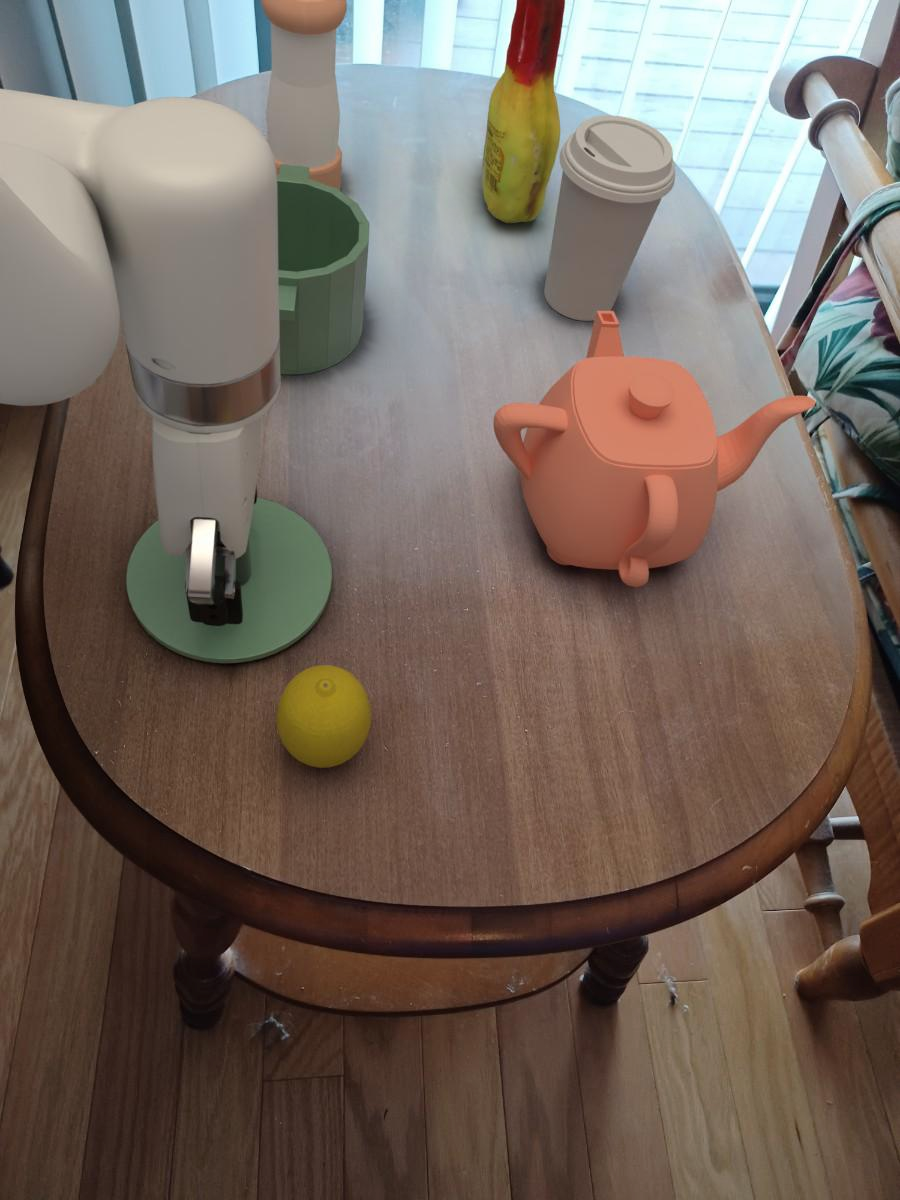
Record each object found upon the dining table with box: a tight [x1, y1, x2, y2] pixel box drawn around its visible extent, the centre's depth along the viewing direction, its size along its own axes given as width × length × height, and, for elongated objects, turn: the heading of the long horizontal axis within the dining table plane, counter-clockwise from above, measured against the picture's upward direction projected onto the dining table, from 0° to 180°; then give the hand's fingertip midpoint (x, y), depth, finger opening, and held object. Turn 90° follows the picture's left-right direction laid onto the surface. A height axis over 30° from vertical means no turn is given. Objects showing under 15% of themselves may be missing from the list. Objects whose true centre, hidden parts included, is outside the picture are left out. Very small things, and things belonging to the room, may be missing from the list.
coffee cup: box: [543, 115, 676, 322], centre depth 81 cm, size 10×10×15 cm
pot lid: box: [125, 497, 333, 664], centre depth 63 cm, size 14×14×6 cm
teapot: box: [492, 310, 816, 588], centre depth 68 cm, size 16×17×14 cm
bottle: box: [480, 0, 566, 224], centre depth 86 cm, size 12×6×20 cm, turn 6°
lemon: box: [276, 664, 372, 769], centre depth 56 cm, size 6×6×8 cm
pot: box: [277, 164, 370, 376], centre depth 77 cm, size 13×18×10 cm
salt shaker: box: [259, 0, 348, 191], centre depth 84 cm, size 7×7×19 cm
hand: (225, 557), depth 63 cm, fingers open, 9 cm apart
